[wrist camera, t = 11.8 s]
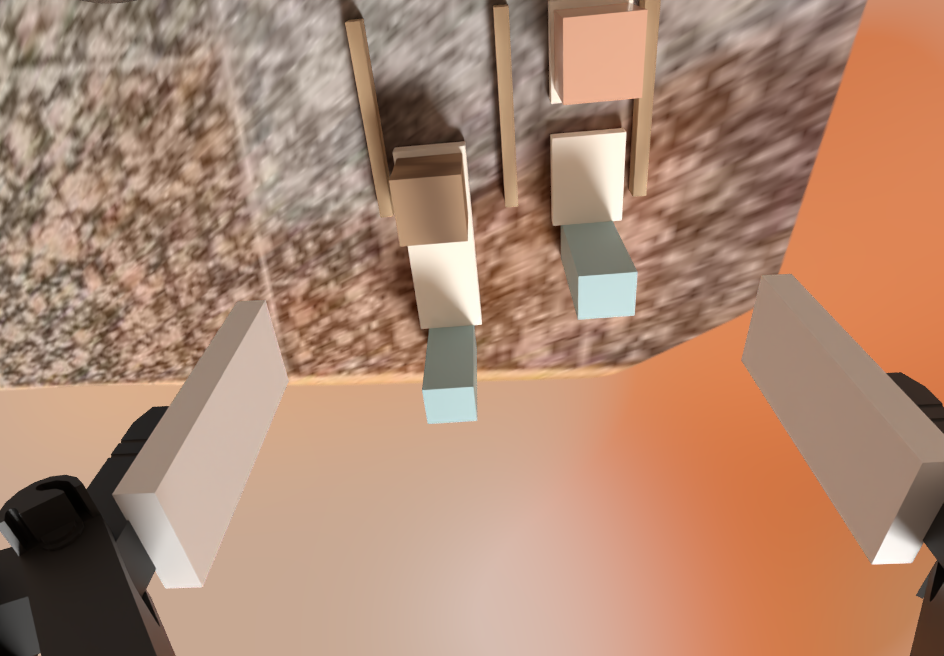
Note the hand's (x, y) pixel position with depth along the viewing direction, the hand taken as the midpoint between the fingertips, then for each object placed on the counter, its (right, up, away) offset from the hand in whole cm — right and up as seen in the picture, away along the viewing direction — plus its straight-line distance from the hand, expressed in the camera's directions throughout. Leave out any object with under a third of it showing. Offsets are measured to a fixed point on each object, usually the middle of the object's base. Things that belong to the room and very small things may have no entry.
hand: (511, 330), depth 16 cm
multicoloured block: (-3, +6, +35) cm, 36 cm away
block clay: (+7, +19, +25) cm, 32 cm away
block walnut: (-4, +11, +30) cm, 32 cm away
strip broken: (+8, +14, +29) cm, 34 cm away
